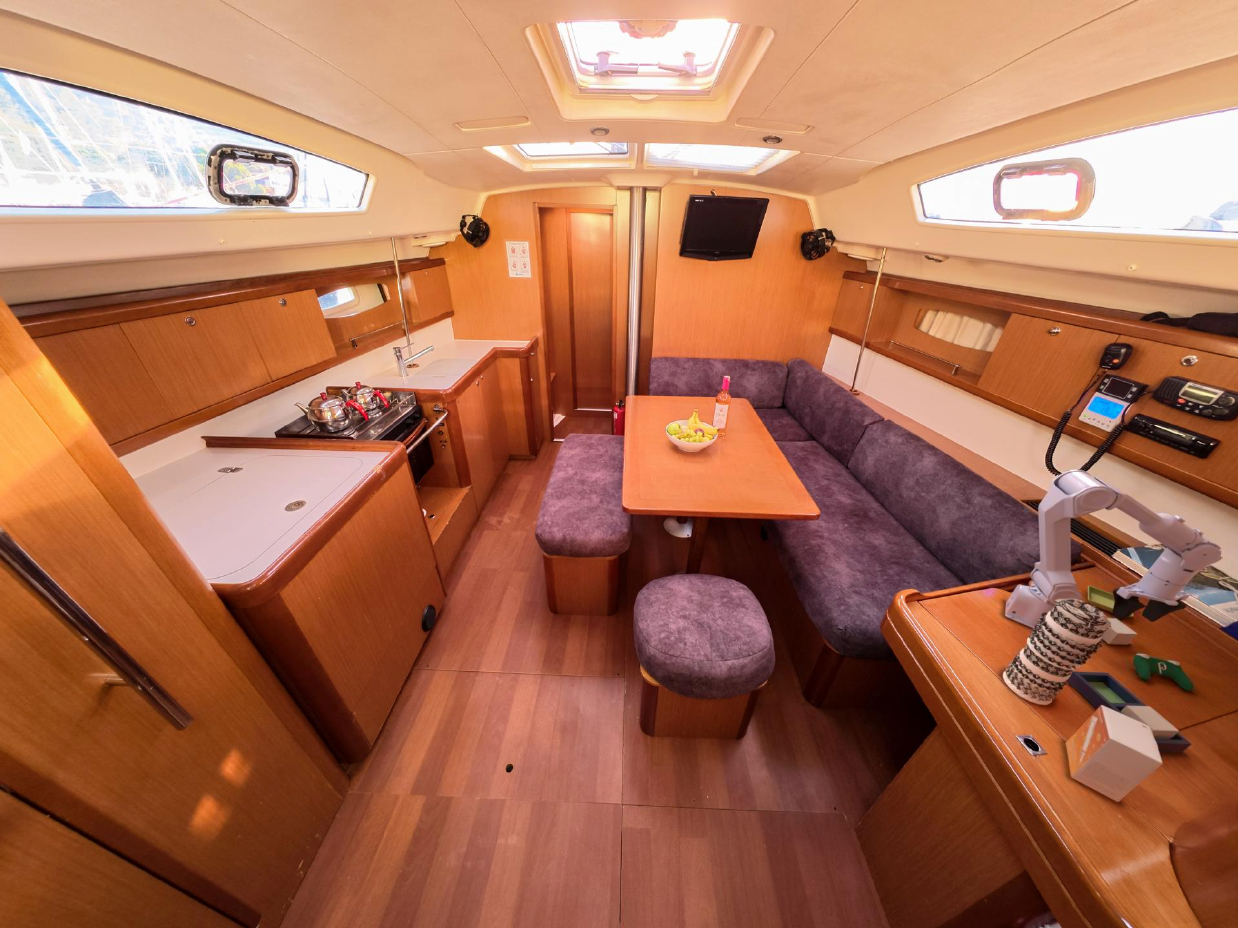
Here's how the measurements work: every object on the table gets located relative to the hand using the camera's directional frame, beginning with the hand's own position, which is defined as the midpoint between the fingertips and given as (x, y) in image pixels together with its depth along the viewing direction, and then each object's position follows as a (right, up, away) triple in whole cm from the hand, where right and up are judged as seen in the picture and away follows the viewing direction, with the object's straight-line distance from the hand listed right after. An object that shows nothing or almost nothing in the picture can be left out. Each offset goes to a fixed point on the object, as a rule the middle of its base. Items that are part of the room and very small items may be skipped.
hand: (1132, 617), depth 101 cm
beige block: (-21, -17, -18) cm, 32 cm away
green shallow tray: (+11, -2, +15) cm, 18 cm away
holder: (-21, -15, -14) cm, 30 cm away
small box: (-40, -20, -24) cm, 51 cm away
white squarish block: (-1, -7, +5) cm, 8 cm away
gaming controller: (-2, -12, -6) cm, 13 cm away
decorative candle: (-36, -13, -9) cm, 39 cm away
